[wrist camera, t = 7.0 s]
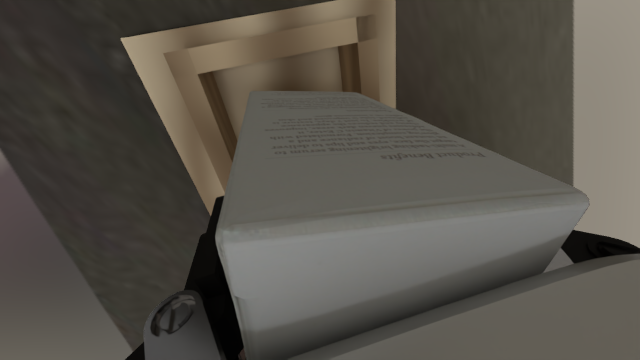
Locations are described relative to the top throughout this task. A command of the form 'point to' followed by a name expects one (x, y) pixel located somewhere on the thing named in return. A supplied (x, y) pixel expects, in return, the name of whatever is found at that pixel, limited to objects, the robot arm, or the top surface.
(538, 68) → the top surface
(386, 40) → the well
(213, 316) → the robot arm
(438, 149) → the small box
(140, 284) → the top surface
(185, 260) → the top surface
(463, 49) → the top surface
